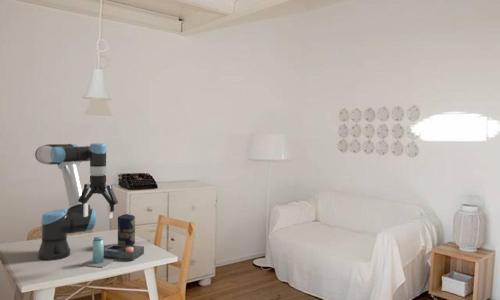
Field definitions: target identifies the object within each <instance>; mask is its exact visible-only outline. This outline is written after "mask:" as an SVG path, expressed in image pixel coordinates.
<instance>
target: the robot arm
mask: <svg viewBox="0 0 500 300" xmlns="http://www.w3.org/2000/svg"><path fill="white" fill-rule="evenodd" d="M34 156H35V159H36V160H37V161H38V162H39V163H41V164H43V165H56V166H57V168H58V169H59V170H60V171H61V172H62V177H63V182H64V187H65V192H66V197H67V202H68V206H69V207H68V208H67V209H64V208H62V209H61V208H60V209H53V210H50V211H46V212H45V213H43V214H42V216H41V244H40V246H39V250H38V252H37V257H38V259H39V260H43V261H45V260H46V261H51V260H53V261H54V260H55V261H56V260H61V259H64V258H68V256H70V255H71V248H70V246H69V243H68V240H67V237H68V234H75V233H76V234H77V233H84V232H89V231H92V230H93V229H94V228H95V226H96V222H97V212H96V210H95V208H91V205H90V204H89V203H88V201H89V200H90V198H92V196H93V195H95V194H98V195H100V194H101V195H102V196H103V198H104V199H105V200H106V202H107V203H108V205H107V208H108V213H107V215H108V216H107V219H108V220H110V219H113V217H114V216H113V215H114V213H113V212H115V205H117V204H119V202H118V199H117V197H116V194H115V192H114V190H113V185H112V184H107V183H106V182H107V175H106V174H107V145H106V144H105V143H101V142H100V143H99V142H97V143H96V142H95V143H93V142H92V143H90V145H86V146H79V145H78V144H74V143H64V144H63V143H62V144H61V143H59V144H58V143H55V144H54V143H53V144H51V143H49V144H44V145H41V146H39V147H38V148H37V149H36V150H35V153H34ZM82 162H89V174H90V175H89V182H90V183H84V185H83V184H82V179H81V176H80V175H81V174H80V171H79V167H80V164H81V163H82ZM83 186H84V187H83Z"/></svg>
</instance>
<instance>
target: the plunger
mask: <svg viewBox="0 0 500 300" xmlns="http://www.w3.org/2000/svg"><path fill="white" fill-rule="evenodd" d="M126 251H128V252H132V251H134V247H127V248H126Z"/></svg>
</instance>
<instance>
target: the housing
mask: <svg viewBox="0 0 500 300" xmlns="http://www.w3.org/2000/svg"><path fill="white" fill-rule="evenodd" d="M127 247H134V251H132V252H128V251H126V248H127ZM144 254H145V246H144V245H143V246H142V245H121V244H118V243H113V244H110V245H108V246H107V247H104V258H109V259H116V260H120V261H122V260H123V261H131V262H133V261H135V260H137V259H139V258H140V257H141V256H143V255H144Z"/></svg>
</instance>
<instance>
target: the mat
mask: <svg viewBox="0 0 500 300" xmlns="http://www.w3.org/2000/svg"><path fill="white" fill-rule="evenodd" d="M116 260H117V259H109V258H104V262H102V263H97V264H96V263H93V257H92V258H90V259H88V260H86V261H85V262H83V263H81V264H79V266H81V267H90V268H91V267H92V268H104V267H106V266H108V265H109V263H110V264H111V263H113V262H115V261H116Z"/></svg>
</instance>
